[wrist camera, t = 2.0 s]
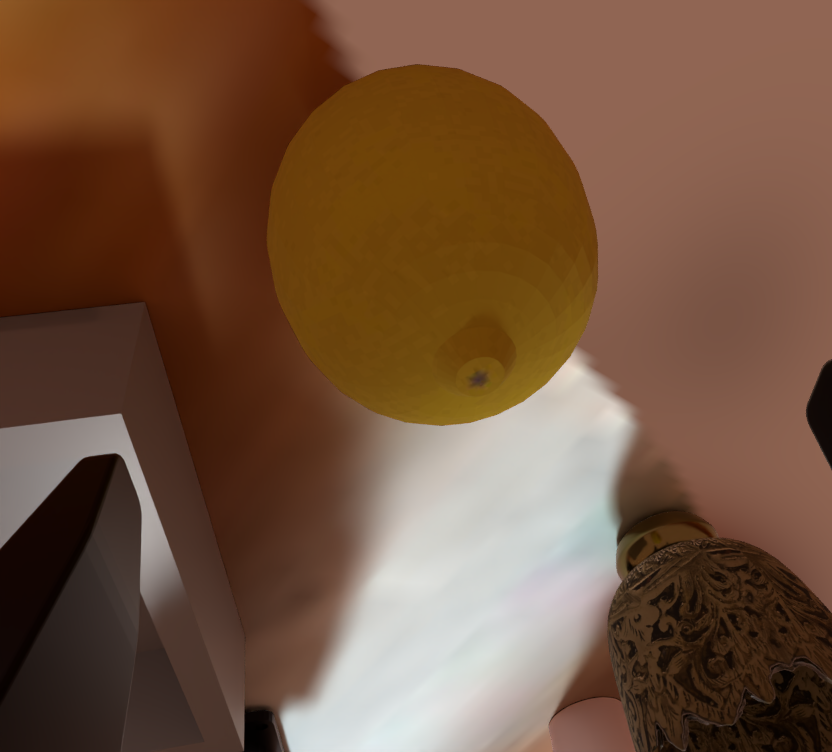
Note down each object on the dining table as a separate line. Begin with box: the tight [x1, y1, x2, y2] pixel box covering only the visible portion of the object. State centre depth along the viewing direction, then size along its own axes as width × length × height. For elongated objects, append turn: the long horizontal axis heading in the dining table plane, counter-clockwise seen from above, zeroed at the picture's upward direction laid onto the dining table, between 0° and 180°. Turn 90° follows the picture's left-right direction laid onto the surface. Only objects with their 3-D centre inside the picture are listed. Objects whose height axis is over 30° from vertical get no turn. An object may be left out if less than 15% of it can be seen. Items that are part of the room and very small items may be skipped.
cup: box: [608, 511, 832, 752], centre depth 23 cm, size 8×7×8 cm
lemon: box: [267, 64, 598, 426], centre depth 13 cm, size 6×6×8 cm
